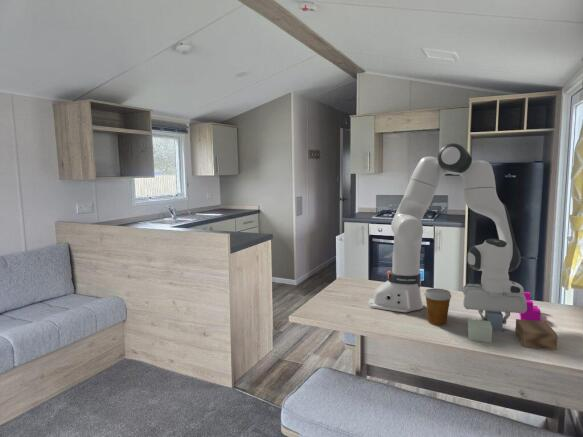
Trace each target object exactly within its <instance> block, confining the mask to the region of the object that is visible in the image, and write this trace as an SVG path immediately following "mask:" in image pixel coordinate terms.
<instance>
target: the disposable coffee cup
mask: <svg viewBox="0 0 583 437" xmlns="http://www.w3.org/2000/svg"><path fill="white" fill-rule="evenodd" d="M424 296H425V301H426V311H427V319H428V323H429V324H431V325H434V326H446V325H447V322H448V321H447V320H448V315H449V308H450V303H451V302H450V301H451V299H452V294H451V292H450V290H447V289H444V288H433V287H432V288H427V289H425V293H424Z"/></svg>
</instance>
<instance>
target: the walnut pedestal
mask: <svg viewBox="0 0 583 437" xmlns="http://www.w3.org/2000/svg"><path fill="white" fill-rule="evenodd" d="M515 335H516V336H517V338H518V339H519V341H520V343H521V344H522V346H523V347H525V348H530V349H531V348H532V349H533V348H534V349H543V350H553V351H557V350H558V348H557V346H558V334H557V332H556V331H555V330H554V329H553V328H552V327H551V325H550V324H549V323H548V322H547V321H545V320H543V321H542V320H540V321H534V320H521V318H520V319H519V318H516V319H515Z"/></svg>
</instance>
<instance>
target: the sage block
mask: <svg viewBox="0 0 583 437" xmlns="http://www.w3.org/2000/svg"><path fill="white" fill-rule="evenodd" d="M467 336H468V337H467V338H468V341H475V342H476V341H477V342H487V343H493V331H492V326H491V322H490V321H484V320H480V319H472V318H468V319H467Z"/></svg>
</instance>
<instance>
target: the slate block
mask: <svg viewBox="0 0 583 437" xmlns="http://www.w3.org/2000/svg"><path fill="white" fill-rule="evenodd" d="M484 316H486V321H490V322H491V326H492V332H503V329H504V327H503V326H504V324H503V318H504V315H503V312H499V311H485V310H484Z"/></svg>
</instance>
